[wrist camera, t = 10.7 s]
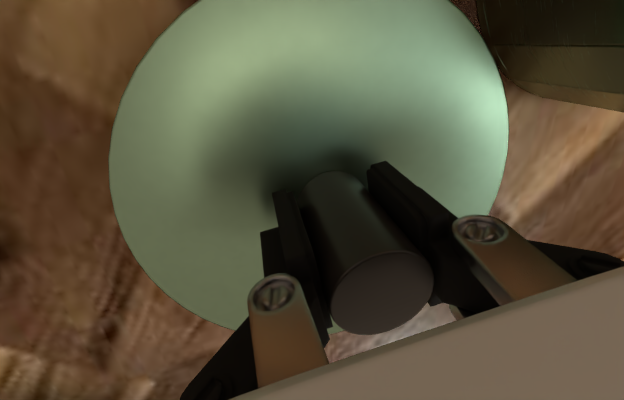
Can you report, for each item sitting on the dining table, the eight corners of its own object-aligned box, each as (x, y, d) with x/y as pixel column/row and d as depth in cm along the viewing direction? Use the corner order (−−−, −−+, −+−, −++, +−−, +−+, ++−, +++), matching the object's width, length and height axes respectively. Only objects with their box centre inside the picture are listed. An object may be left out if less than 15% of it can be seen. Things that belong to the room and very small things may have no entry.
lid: (508, -81, 10) (845, -237, 4) (476, 269, 17) (582, 371, 12) (13, 29, 8) (-392, 6, 3) (213, 353, 16) (198, 510, 11)
